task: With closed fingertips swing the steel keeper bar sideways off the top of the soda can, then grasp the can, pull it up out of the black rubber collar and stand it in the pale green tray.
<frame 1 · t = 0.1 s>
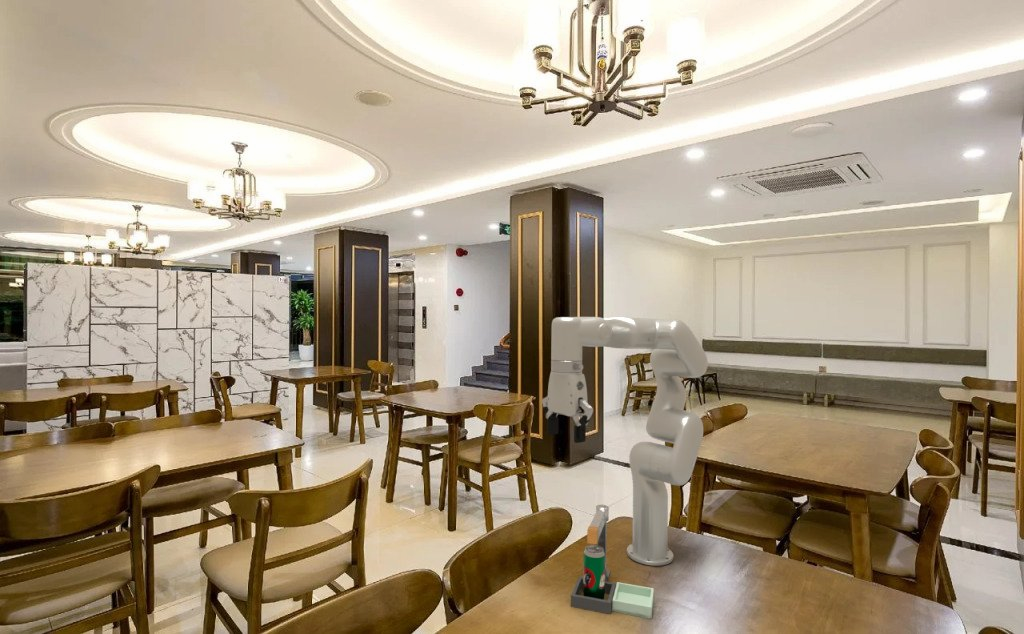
hand: (565, 438, 122), 37 cm above the table, tool pointing down, fingers open, 9 cm apart
tray: (633, 605, 116), on the table
soda can: (593, 600, 118), resting in collar
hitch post: (601, 575, 129), on the table
keeper bar: (598, 523, 123), point 16 cm above the table, hinge at 0.0°
collar: (593, 599, 118), on the table
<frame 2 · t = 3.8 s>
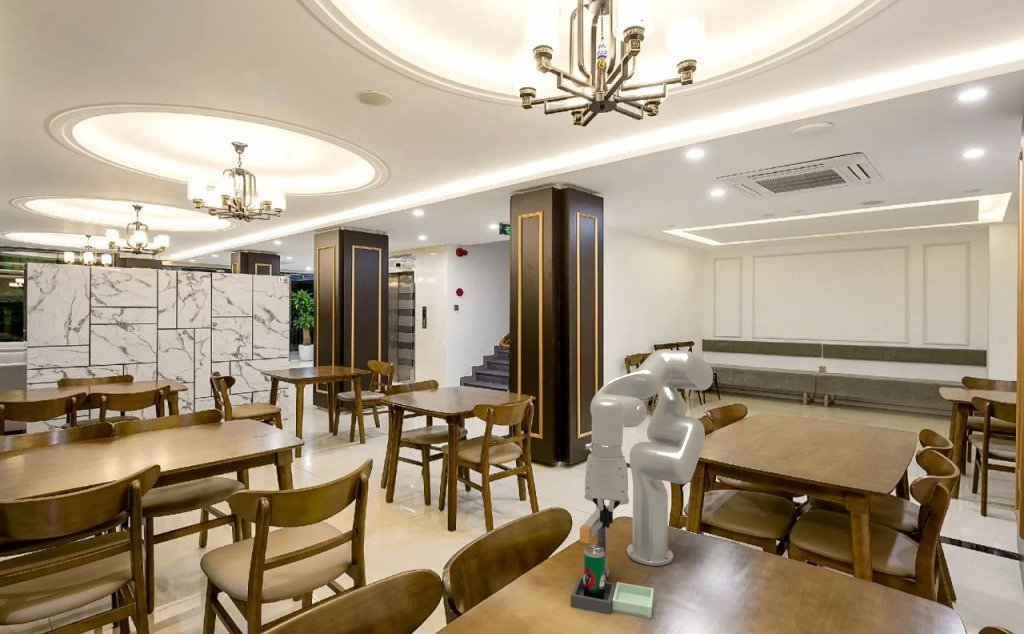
hand: (606, 525, 122), 16 cm above the table, tool pointing down, fingers closed
keeper bar: (594, 522, 123), point 16 cm above the table, hinge at 7.1°, touching gripper
everything else where it was.
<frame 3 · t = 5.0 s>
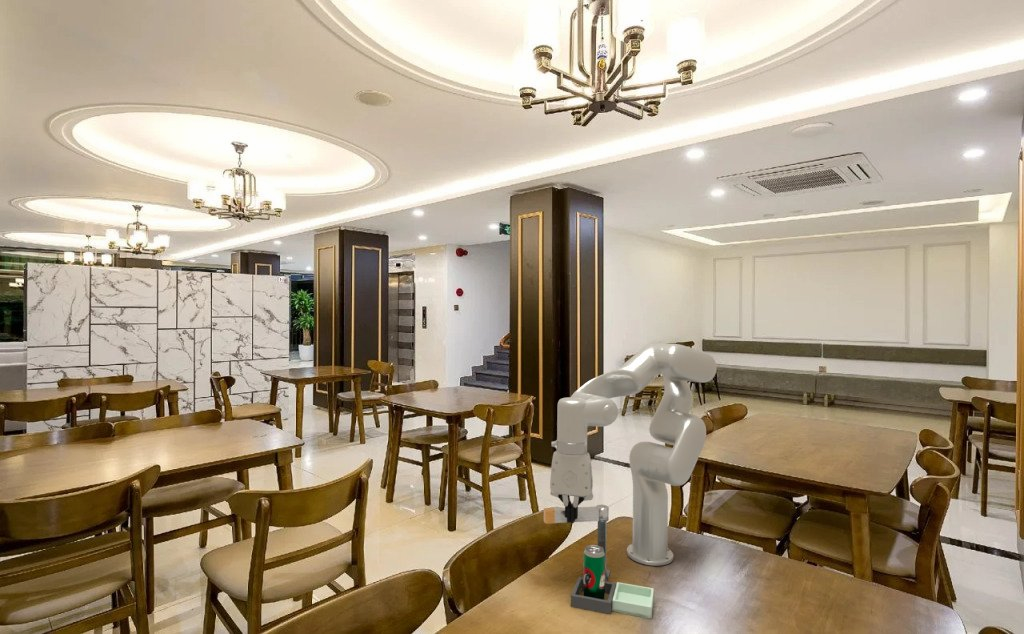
hand: (571, 520, 125), 16 cm above the table, tool pointing down, fingers closed
keeper bar: (576, 514, 128), point 16 cm above the table, hinge at 63.5°
everything else where it was.
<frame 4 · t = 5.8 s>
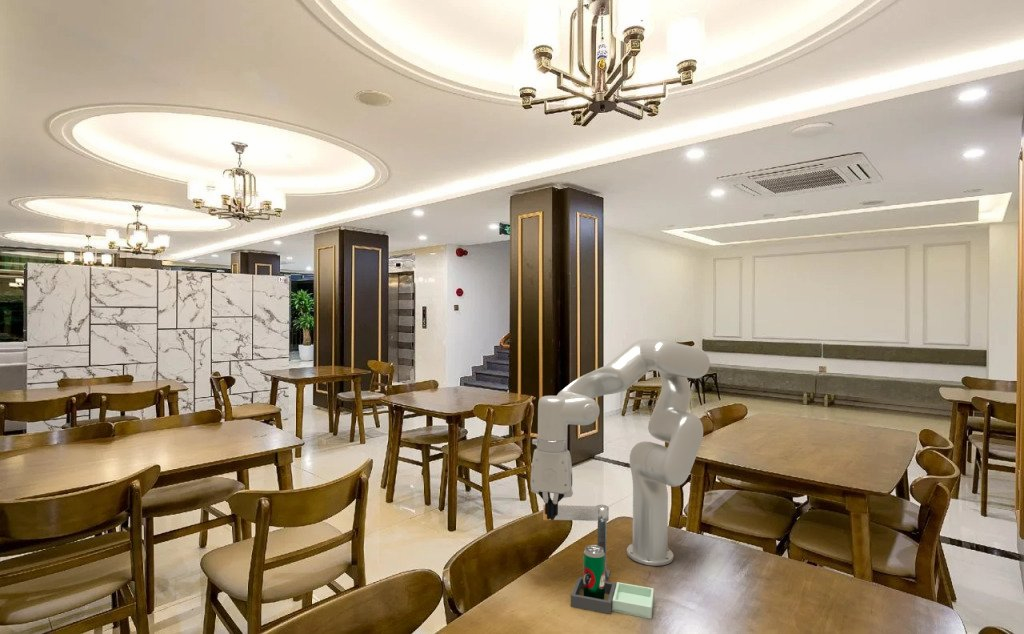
hand: (551, 517, 127), 16 cm above the table, tool pointing down, fingers closed
keeper bar: (575, 512, 130), point 16 cm above the table, hinge at 73.1°, touching gripper
everything else where it was.
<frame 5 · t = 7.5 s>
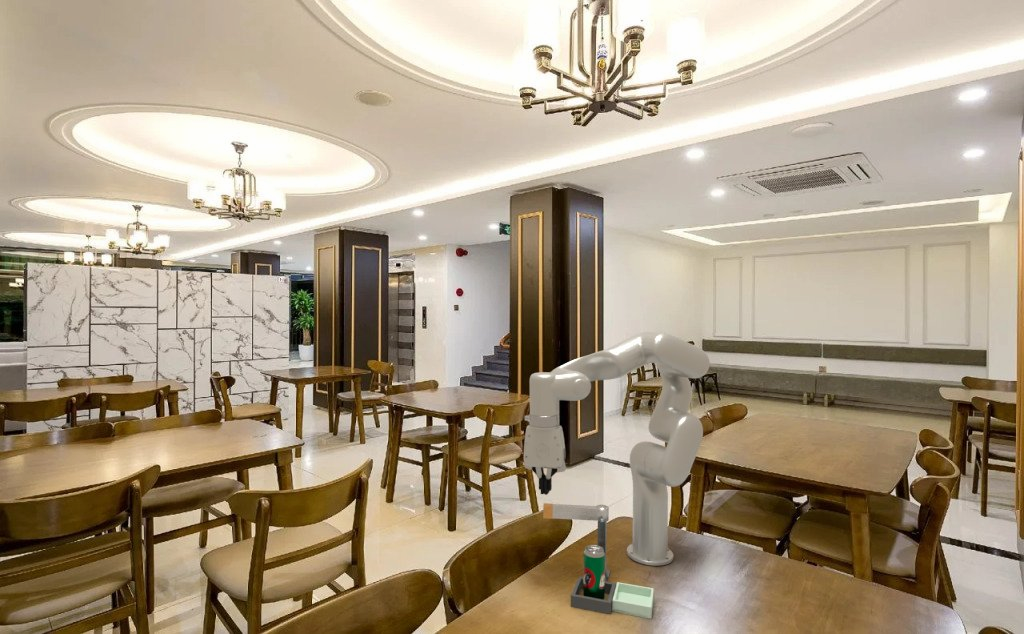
hand: (545, 492, 128), 22 cm above the table, tool pointing down, fingers closed
keeper bar: (575, 511, 130), point 16 cm above the table, hinge at 77.0°
everything else where it was.
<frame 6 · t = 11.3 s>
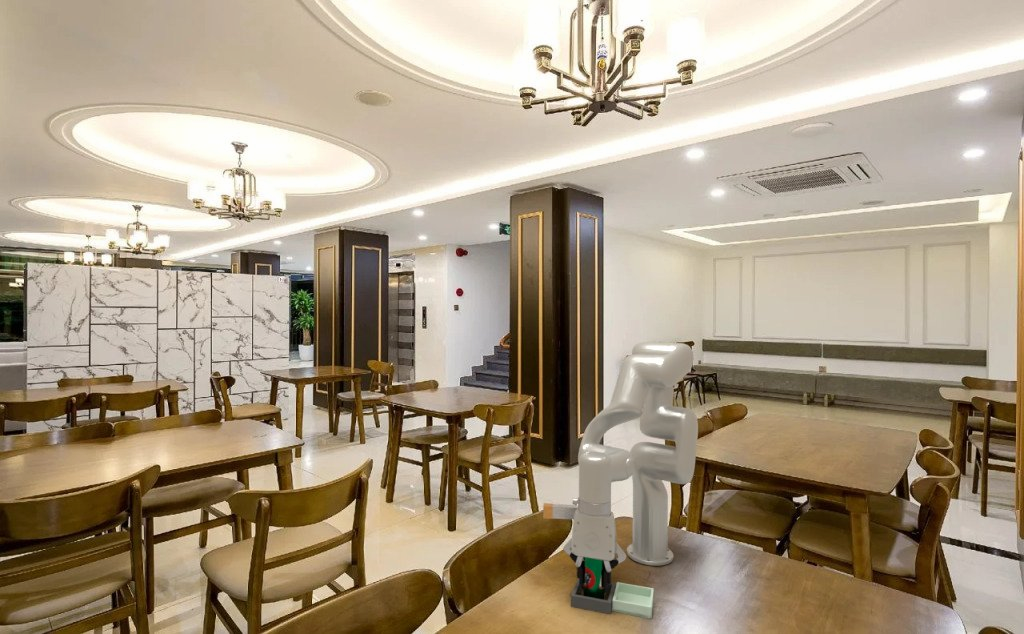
hand: (593, 583, 118), 4 cm above the table, tool pointing down, fingers closed on soda can, 5 cm apart
soda can: (593, 600, 118), resting in collar, touching gripper
everything else where it was.
when the fingers open (6 cm above the table, at t = 16.6 s): soda can drops 1 cm, resting on tray.
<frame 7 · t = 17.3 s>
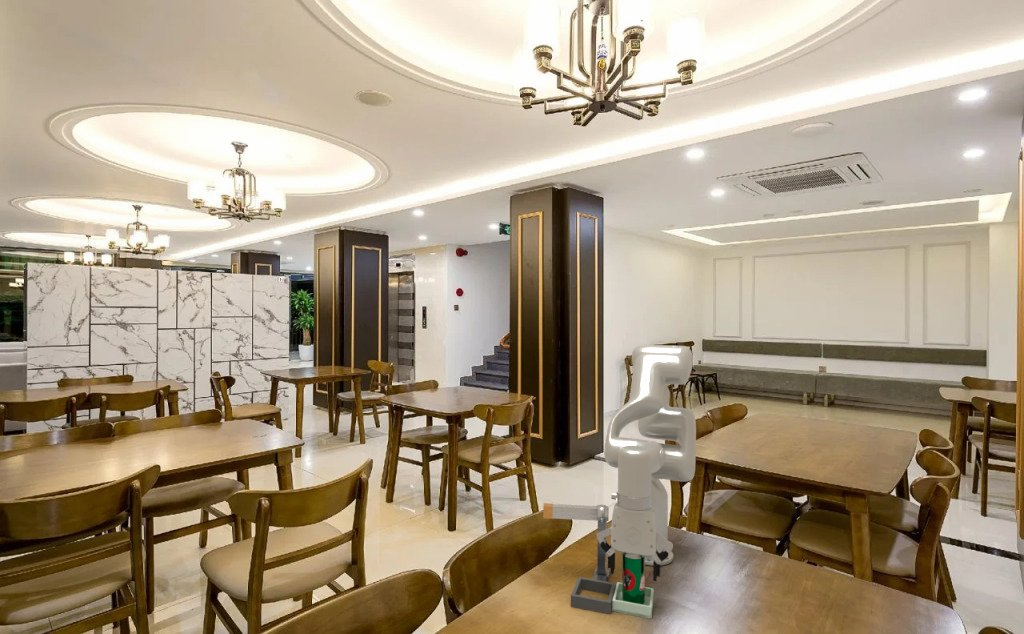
hand: (633, 575, 116), 7 cm above the table, tool pointing down, fingers open, 9 cm apart
soda can: (633, 602, 116), resting on tray
everything else where it was.
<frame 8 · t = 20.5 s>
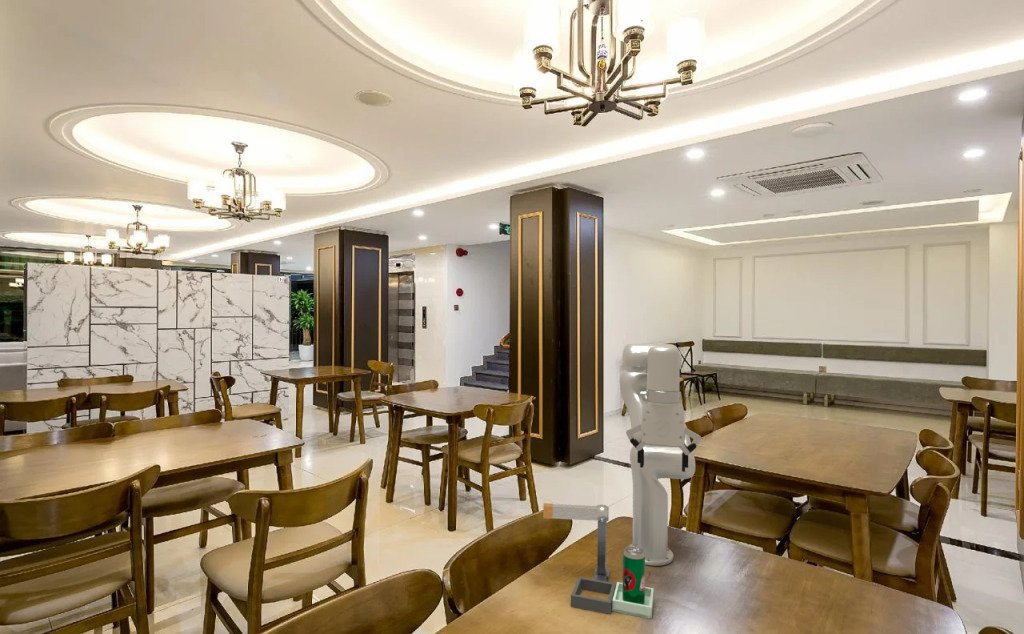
hand: (662, 468, 121), 30 cm above the table, tool pointing down, fingers open, 9 cm apart
nothing on the table moved.
at the end: soda can inside the target area on the tray (0.2 cm from its centre), point 0.4 cm above the tray's base; soda can tilted 0°; keeper bar at +77° (first picture: +0°) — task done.
